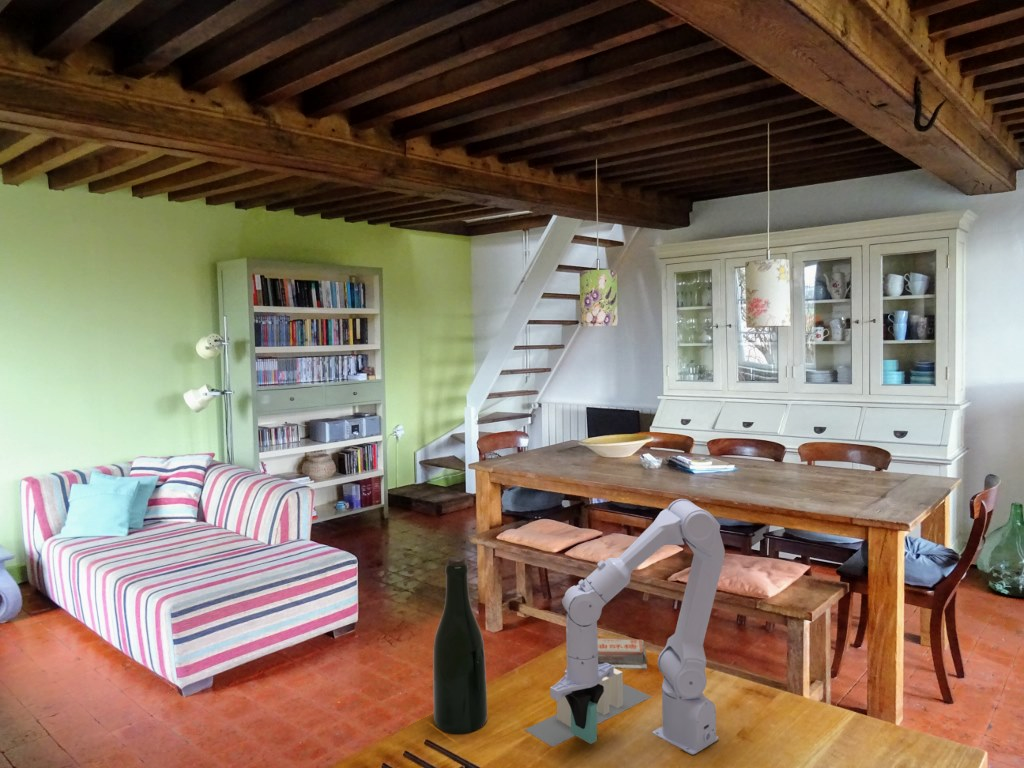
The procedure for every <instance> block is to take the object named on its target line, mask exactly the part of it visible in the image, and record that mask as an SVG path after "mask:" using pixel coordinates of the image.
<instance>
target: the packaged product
mask: <svg viewBox="0 0 1024 768" xmlns="http://www.w3.org/2000/svg"><path fill="white" fill-rule="evenodd" d="M604 663H608V664H610V665H613V666H614V668H615V669H617V670H619V669H623V670H648V666H647V650H646V648H645V641H644V640H643V639H635V638H630V639H629V638H606V637H605V638H604V637H602V638H601V637H600V638H599V637H598V665H601V664H604Z"/></svg>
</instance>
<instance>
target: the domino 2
mask: <svg viewBox="0 0 1024 768" xmlns="http://www.w3.org/2000/svg"><path fill="white" fill-rule="evenodd" d="M571 733H572V734H574V735H576V737H578V738H580V739H581V740H583V741H585V742H587V743H588V744H590V745H592V744H594V743H595V742H597V740H598V739H597V738H598V724H597V704H596V703H593V702H591V701H589V704H588V708H587V716H586V725H585V728H584V729H582V728H580V727H578V726H576V724H575V721H574V717H573V713H572V710H571Z"/></svg>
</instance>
